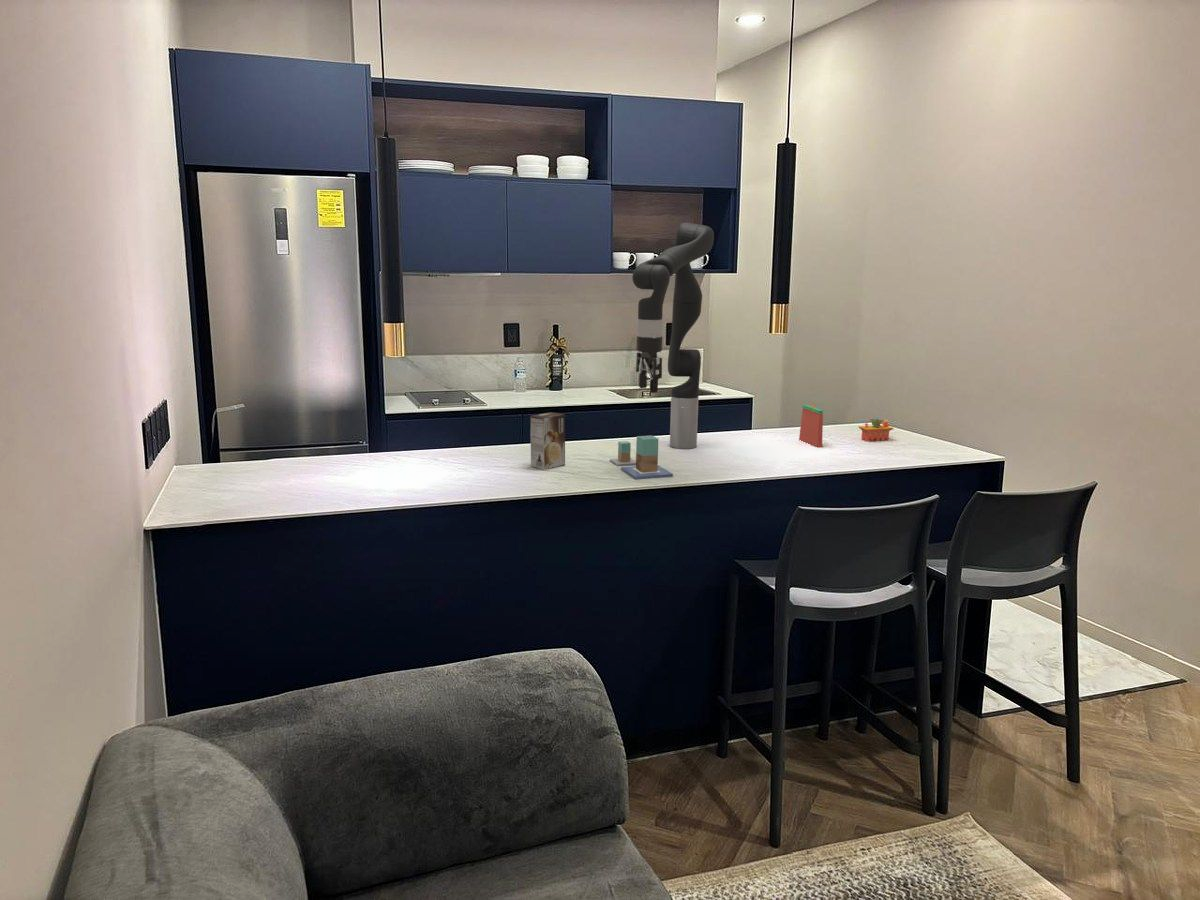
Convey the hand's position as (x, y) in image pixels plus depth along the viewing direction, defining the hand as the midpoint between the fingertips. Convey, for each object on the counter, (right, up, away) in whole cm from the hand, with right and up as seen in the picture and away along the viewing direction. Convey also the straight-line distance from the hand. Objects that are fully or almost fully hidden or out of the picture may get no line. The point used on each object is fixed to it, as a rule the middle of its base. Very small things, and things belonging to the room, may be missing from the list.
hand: (648, 390), depth 256 cm
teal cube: (0, -19, +4) cm, 19 cm away
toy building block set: (+75, -15, +54) cm, 94 cm away
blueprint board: (0, -25, +6) cm, 25 cm away
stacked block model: (-7, -22, +18) cm, 29 cm away
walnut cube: (0, -24, +5) cm, 24 cm away
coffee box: (-30, -23, +13) cm, 40 cm away
